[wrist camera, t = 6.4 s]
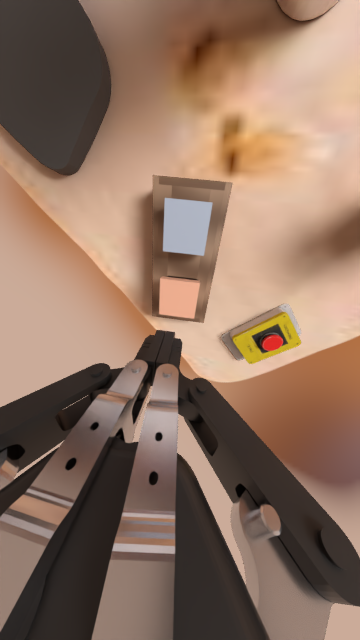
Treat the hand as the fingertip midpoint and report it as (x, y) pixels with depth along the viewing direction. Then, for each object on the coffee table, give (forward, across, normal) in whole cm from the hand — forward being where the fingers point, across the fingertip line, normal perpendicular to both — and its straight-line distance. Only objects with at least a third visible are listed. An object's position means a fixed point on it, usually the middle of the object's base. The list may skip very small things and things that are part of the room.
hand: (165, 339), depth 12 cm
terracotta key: (+14, 0, 0) cm, 14 cm away
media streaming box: (+18, +20, -24) cm, 36 cm away
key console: (+18, 0, -5) cm, 19 cm away
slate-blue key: (+16, 0, -9) cm, 18 cm away
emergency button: (+19, -19, +9) cm, 28 cm away
